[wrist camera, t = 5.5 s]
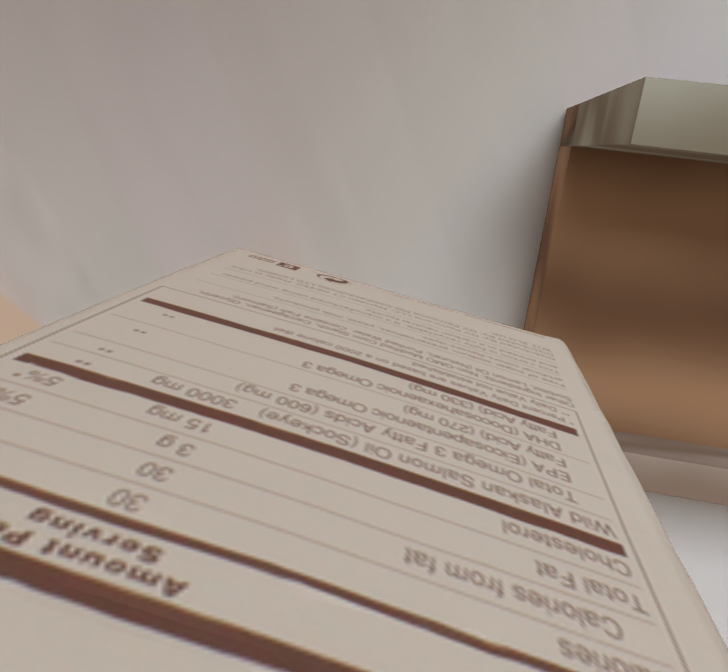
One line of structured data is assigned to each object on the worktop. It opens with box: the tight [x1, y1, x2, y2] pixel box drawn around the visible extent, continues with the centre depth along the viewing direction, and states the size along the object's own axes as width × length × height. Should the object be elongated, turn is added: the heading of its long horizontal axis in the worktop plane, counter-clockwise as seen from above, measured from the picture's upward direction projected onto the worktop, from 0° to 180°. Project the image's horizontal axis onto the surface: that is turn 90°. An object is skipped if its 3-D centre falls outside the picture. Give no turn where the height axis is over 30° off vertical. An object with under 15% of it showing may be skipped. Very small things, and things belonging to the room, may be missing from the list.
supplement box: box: [0, 248, 728, 672], centre depth 8 cm, size 7×7×13 cm
